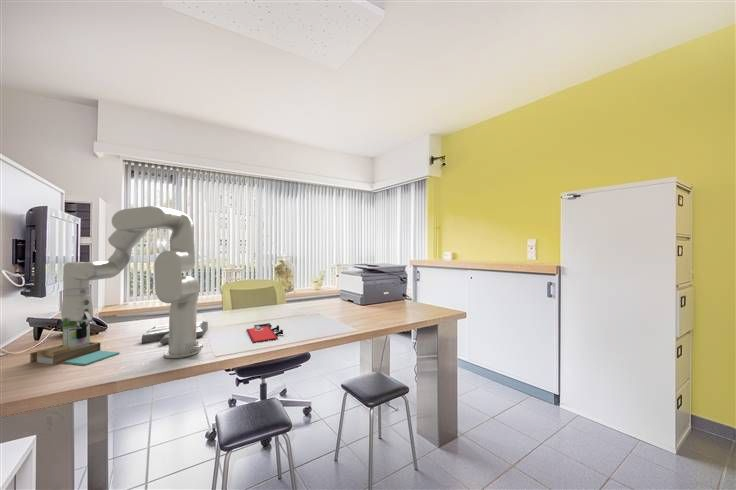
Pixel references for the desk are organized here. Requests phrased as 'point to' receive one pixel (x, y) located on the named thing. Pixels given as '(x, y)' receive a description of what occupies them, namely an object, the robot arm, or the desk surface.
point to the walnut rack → (70, 353)
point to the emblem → (163, 333)
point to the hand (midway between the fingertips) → (76, 337)
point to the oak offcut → (51, 351)
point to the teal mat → (91, 358)
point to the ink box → (74, 335)
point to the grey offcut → (45, 360)
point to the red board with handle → (263, 333)
